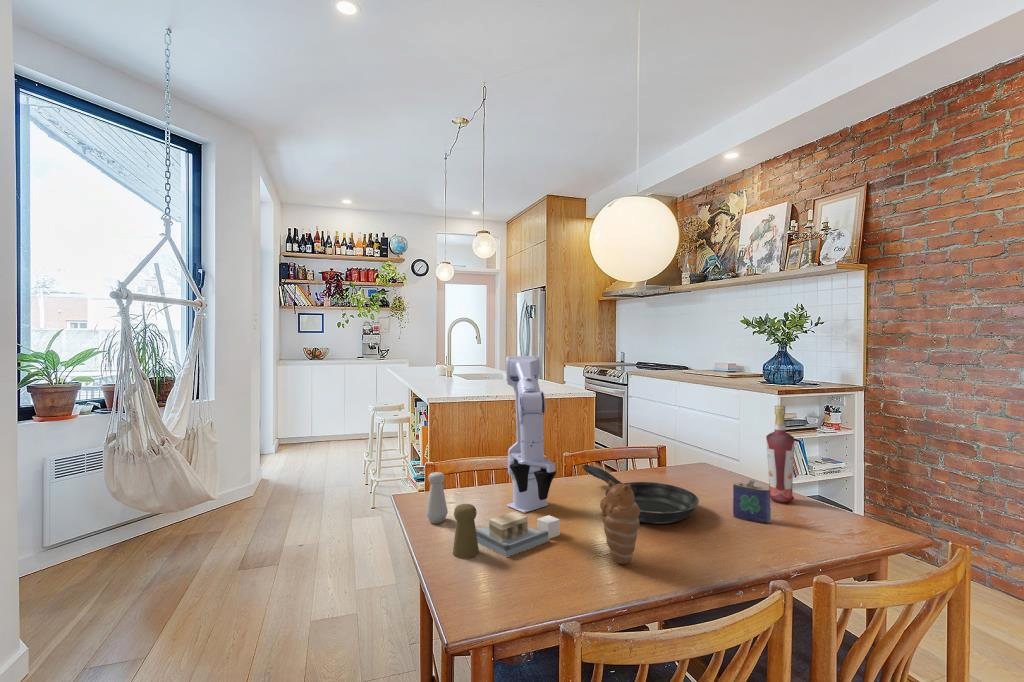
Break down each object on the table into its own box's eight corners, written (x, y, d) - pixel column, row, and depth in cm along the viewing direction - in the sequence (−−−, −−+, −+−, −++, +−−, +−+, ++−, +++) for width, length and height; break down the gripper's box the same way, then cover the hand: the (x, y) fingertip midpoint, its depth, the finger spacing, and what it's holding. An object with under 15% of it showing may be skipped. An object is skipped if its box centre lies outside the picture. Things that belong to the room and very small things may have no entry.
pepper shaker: (468, 560, 111) (467, 511, 111) (447, 554, 114) (446, 507, 114) (484, 550, 116) (483, 503, 116) (463, 545, 119) (462, 499, 119)
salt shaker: (443, 525, 132) (442, 476, 132) (423, 524, 133) (422, 475, 133) (450, 517, 138) (449, 470, 137) (431, 516, 139) (430, 469, 139)
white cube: (548, 530, 128) (548, 515, 128) (559, 535, 125) (559, 519, 125) (537, 534, 125) (537, 518, 125) (548, 539, 122) (548, 523, 122)
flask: (771, 522, 131) (771, 481, 131) (769, 525, 128) (768, 484, 128) (734, 514, 137) (734, 475, 136) (731, 517, 134) (730, 478, 134)
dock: (511, 525, 131) (511, 515, 131) (548, 541, 121) (548, 531, 121) (471, 538, 123) (470, 528, 123) (506, 557, 112) (506, 546, 112)
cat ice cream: (594, 563, 109) (593, 481, 108) (613, 551, 114) (612, 473, 114) (631, 576, 103) (630, 489, 102) (649, 563, 109) (648, 481, 108)
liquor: (794, 506, 142) (794, 408, 141) (766, 502, 145) (765, 407, 145) (795, 499, 148) (794, 405, 148) (767, 495, 152) (766, 403, 151)
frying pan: (719, 519, 133) (719, 494, 133) (647, 537, 122) (646, 510, 122) (616, 478, 173) (616, 458, 172) (554, 489, 161) (554, 468, 161)
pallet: (514, 527, 126) (514, 511, 126) (527, 532, 122) (527, 516, 122) (489, 535, 121) (489, 519, 121) (502, 542, 117) (501, 525, 117)
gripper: (501, 438, 126) (502, 491, 127) (539, 448, 115) (540, 506, 115) (522, 434, 131) (523, 485, 131) (561, 443, 120) (562, 499, 120)
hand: (532, 495), depth 124 cm, fingers open, 7 cm apart
